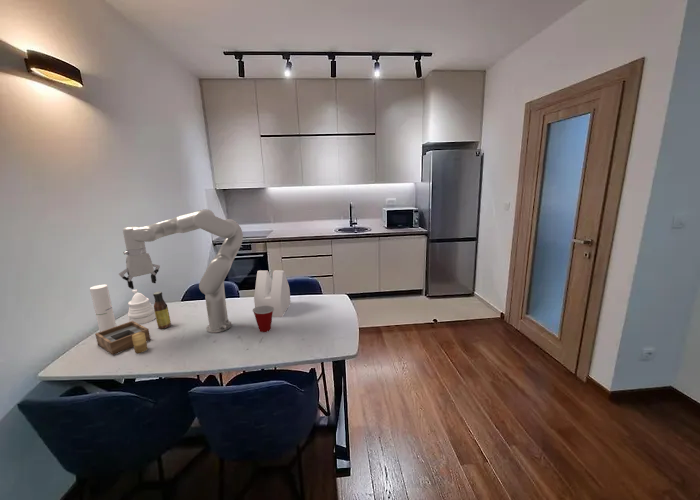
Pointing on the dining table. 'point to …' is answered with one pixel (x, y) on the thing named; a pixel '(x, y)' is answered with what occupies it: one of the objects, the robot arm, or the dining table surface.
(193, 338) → the dining table surface
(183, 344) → the dining table surface
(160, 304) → the sauce bottle
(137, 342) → the peg
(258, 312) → the plastic cup
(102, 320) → the cylindrical container
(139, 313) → the honey pot
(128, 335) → the peg box
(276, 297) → the white notched block
